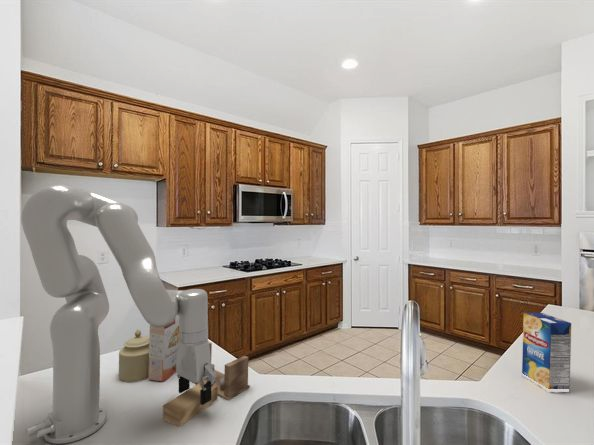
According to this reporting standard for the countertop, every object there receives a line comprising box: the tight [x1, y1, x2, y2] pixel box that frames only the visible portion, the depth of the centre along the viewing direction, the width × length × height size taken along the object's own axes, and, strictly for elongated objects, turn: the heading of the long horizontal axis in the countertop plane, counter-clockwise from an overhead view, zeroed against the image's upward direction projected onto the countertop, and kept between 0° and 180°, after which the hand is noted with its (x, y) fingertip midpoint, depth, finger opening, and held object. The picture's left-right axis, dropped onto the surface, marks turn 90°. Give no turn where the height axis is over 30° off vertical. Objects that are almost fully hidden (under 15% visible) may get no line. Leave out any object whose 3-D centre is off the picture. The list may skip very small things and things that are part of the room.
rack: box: [190, 341, 250, 401], centre depth 100 cm, size 9×20×10 cm, turn 54°
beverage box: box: [521, 312, 572, 390], centre depth 103 cm, size 7×11×22 cm, turn 3°
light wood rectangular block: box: [162, 382, 219, 427], centre depth 86 cm, size 14×6×4 cm, turn 153°
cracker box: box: [147, 315, 179, 383], centre depth 107 cm, size 14×6×21 cm, turn 168°
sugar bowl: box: [118, 329, 149, 383], centre depth 106 cm, size 15×11×15 cm
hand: (194, 396), depth 86 cm, fingers open, 9 cm apart
